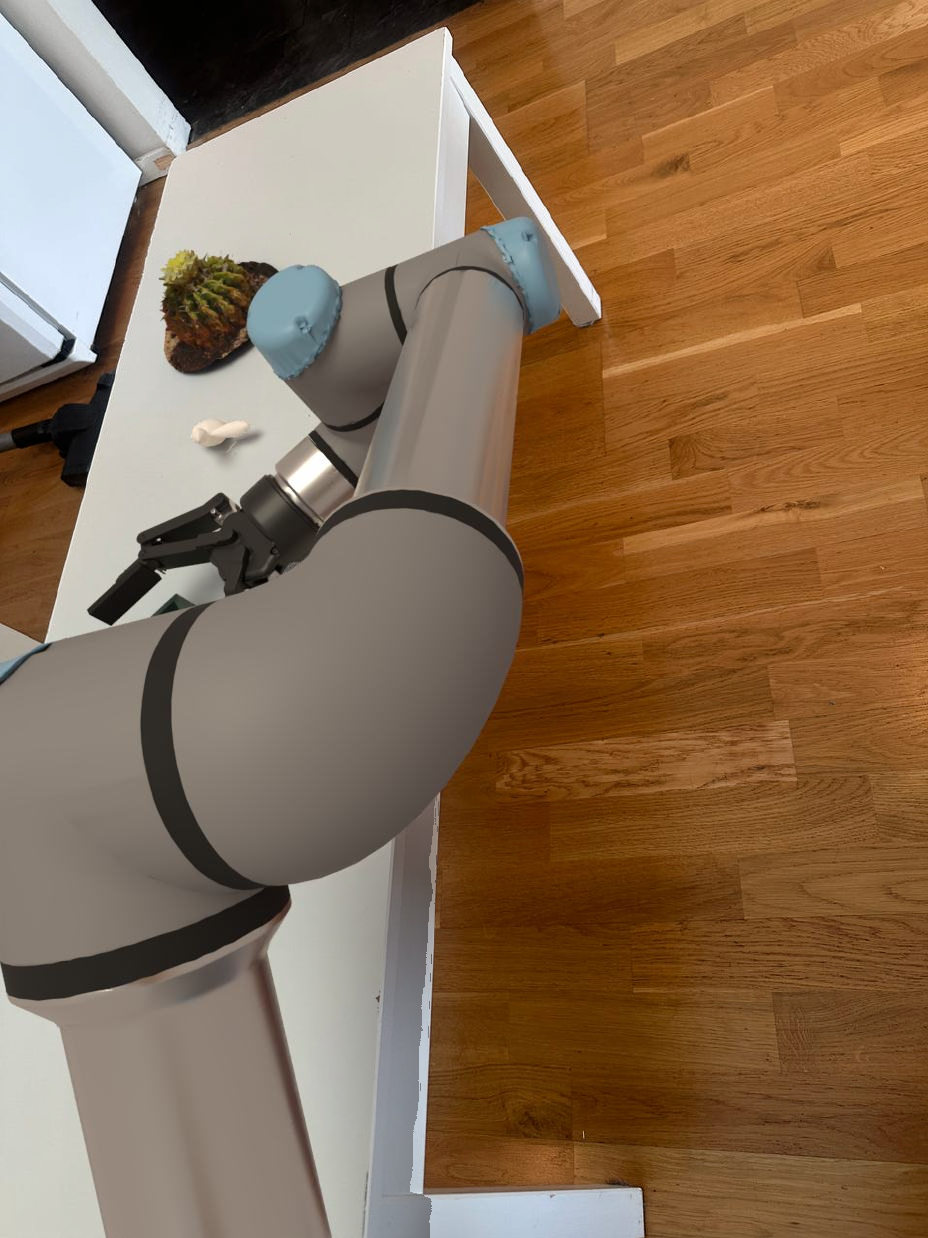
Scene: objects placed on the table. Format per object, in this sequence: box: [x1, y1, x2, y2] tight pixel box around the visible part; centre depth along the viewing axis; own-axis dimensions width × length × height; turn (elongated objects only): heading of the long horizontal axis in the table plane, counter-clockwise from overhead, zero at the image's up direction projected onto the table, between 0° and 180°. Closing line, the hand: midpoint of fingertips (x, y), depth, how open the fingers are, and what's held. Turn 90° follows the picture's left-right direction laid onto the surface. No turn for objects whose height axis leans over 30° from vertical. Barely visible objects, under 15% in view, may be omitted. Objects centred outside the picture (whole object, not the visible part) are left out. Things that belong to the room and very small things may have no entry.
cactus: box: [158, 248, 279, 373], centre depth 98 cm, size 17×16×10 cm
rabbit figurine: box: [189, 418, 251, 453], centre depth 91 cm, size 6×4×8 cm
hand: (122, 667), depth 74 cm, fingers open, 13 cm apart
